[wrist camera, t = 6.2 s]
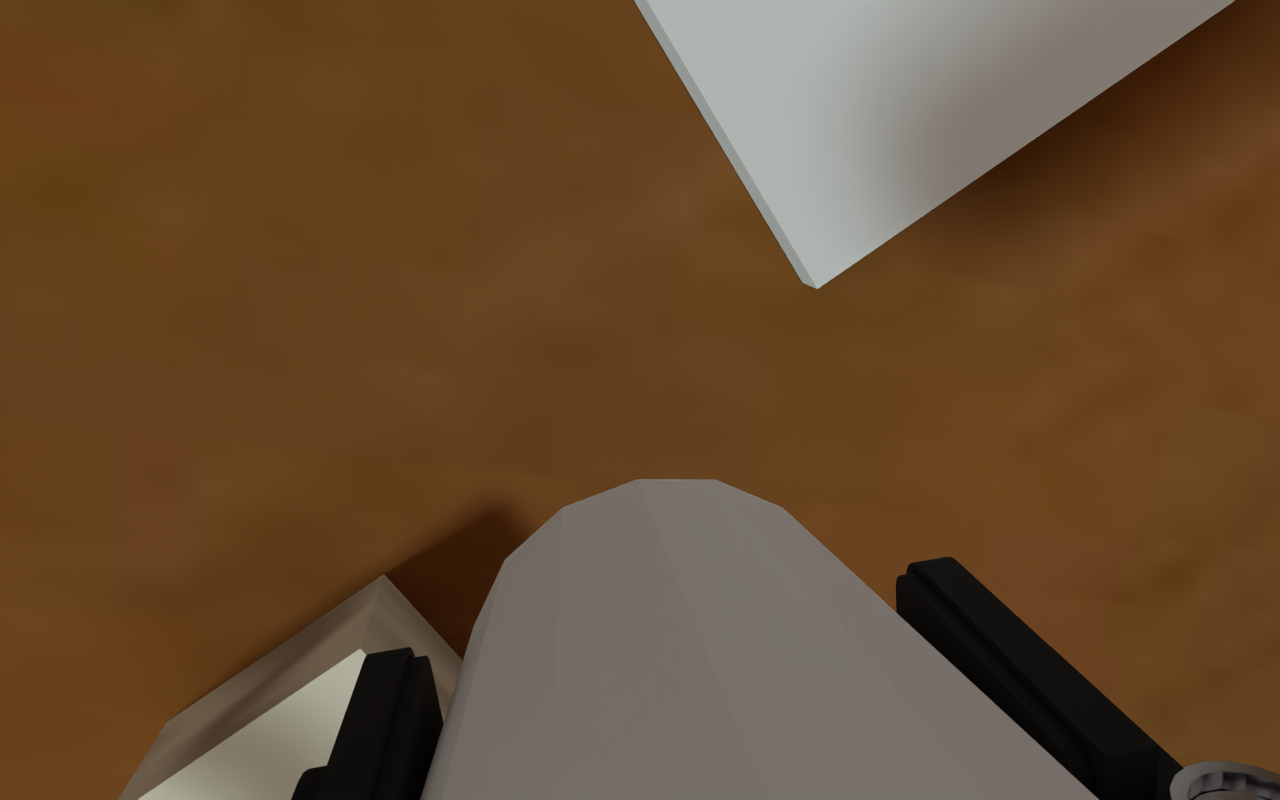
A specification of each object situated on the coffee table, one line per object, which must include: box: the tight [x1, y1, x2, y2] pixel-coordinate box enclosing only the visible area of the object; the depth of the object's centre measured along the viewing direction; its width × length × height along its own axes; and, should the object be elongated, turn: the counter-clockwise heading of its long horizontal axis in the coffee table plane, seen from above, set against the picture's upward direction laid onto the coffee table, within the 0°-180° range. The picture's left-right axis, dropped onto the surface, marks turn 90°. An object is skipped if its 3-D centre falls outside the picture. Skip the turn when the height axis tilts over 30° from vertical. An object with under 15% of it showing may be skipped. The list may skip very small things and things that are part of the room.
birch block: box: [118, 574, 463, 800], centre depth 23 cm, size 8×4×4 cm, turn 123°
